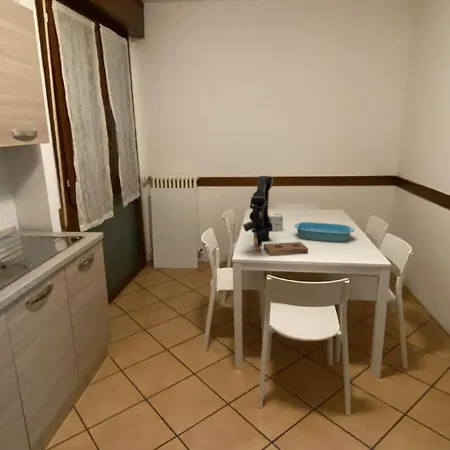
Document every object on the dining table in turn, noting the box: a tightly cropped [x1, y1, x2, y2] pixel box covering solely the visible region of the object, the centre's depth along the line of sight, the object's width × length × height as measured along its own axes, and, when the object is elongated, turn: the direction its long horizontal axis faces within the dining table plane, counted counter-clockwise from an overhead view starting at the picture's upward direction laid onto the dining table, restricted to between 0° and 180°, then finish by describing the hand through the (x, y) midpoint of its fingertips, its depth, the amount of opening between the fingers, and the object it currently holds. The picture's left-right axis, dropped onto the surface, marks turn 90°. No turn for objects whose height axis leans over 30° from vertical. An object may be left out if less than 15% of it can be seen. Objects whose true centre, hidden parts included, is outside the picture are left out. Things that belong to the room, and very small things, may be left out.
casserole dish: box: [294, 221, 356, 243], centre depth 232 cm, size 37×22×7 cm, turn 72°
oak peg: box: [253, 233, 263, 252], centre depth 208 cm, size 5×5×10 cm
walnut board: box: [263, 241, 309, 257], centre depth 207 cm, size 12×22×3 cm, turn 98°
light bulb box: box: [268, 213, 284, 232], centre depth 249 cm, size 11×7×11 cm, turn 92°
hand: (258, 244), depth 208 cm, fingers closed on oak peg, 5 cm apart
